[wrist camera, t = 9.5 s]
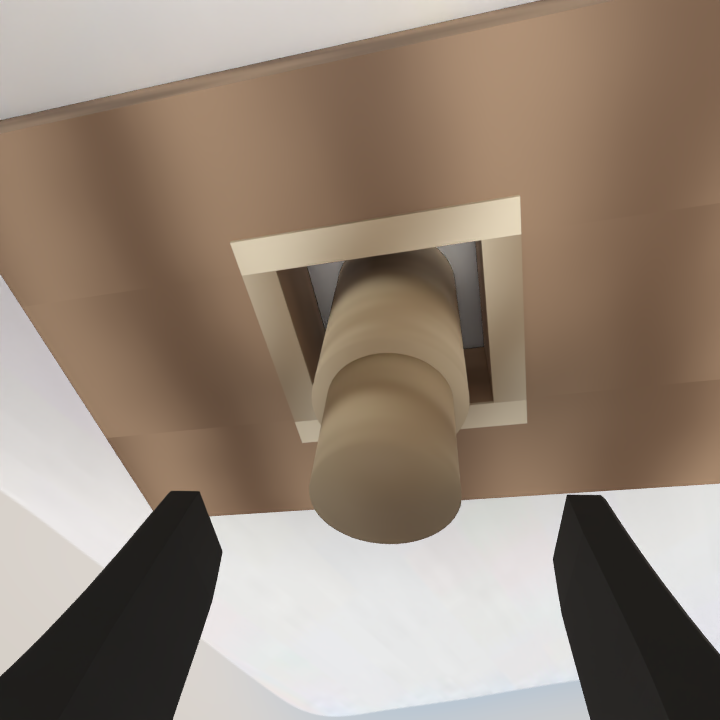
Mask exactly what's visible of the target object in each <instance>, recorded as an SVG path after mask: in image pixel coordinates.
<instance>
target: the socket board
mask: <svg viewBox="0 0 720 720" xmlns="http://www.w3.org/2000/svg"><path fill="white" fill-rule="evenodd" d="M473 241H475V244H476V256H477V268H478V280H479V292H480V304H481V316H482V328H483V340H484V347H478V348H469V349H463V350H464V358H465V366H466V374H467V382H468V390H469V403H470V404H469V411H468V414H467V417H466V420H465V422H464V424H463V426H462V427H461V429H460V430H459V431H458V433H457V434H456V438H457V449H458V460H459V472H460V483H461V496H462V499H461V500H470V499H486V498H501V497H517V496H532V495H548V494H563V493H579V492H595V491H610V490H626V489H641V488H657V487H672V486H688V485H704V484H719V483H720V0H540V1H536V2H531V3H527V4H522V5H518V6H513V7H509V8H504V9H500V10H495V11H491V12H486V13H482V14H477V15H473V16H468V17H464V18H459V19H455V20H450V21H446V22H441V23H437V24H432V25H428V26H423V27H419V28H414V29H410V30H405V31H401V32H396V33H392V34H387V35H383V36H378V37H374V38H369V39H365V40H360V41H356V42H351V43H347V44H342V45H338V46H333V47H329V48H324V49H320V50H315V51H311V52H306V53H302V54H297V55H293V56H288V57H284V58H279V59H275V60H270V61H266V62H261V63H257V64H252V65H248V66H243V67H239V68H234V69H230V70H225V71H221V72H216V73H212V74H207V75H203V76H198V77H194V78H189V79H185V80H180V81H176V82H171V83H167V84H162V85H158V86H153V87H149V88H144V89H140V90H135V91H131V92H126V93H122V94H117V95H113V96H108V97H104V98H99V99H95V100H90V101H86V102H81V103H77V104H72V105H68V106H63V107H59V108H54V109H50V110H45V111H41V112H36V113H32V114H27V115H23V116H18V117H14V118H9V119H5V120H0V274H1V276H2V277H3V279H4V280H5V282H6V284H7V285H8V287H9V288H10V290H11V291H12V293H13V294H14V296H15V297H16V299H17V301H18V302H19V304H20V305H21V307H22V308H23V310H24V311H25V313H26V315H27V316H28V318H29V319H30V321H31V322H32V324H33V325H34V327H35V328H36V330H37V332H38V333H39V335H40V336H41V338H42V339H43V341H44V342H45V344H46V346H47V347H48V349H49V350H50V352H51V353H52V355H53V356H54V358H55V359H56V361H57V363H58V364H59V366H60V367H61V369H62V370H63V372H64V373H65V375H66V377H67V378H68V380H69V381H70V383H71V384H72V386H73V387H74V389H75V390H76V392H77V394H78V395H79V397H80V398H81V400H82V401H83V403H84V404H85V406H86V408H87V409H88V411H89V412H90V414H91V415H92V417H93V418H94V420H95V421H96V423H97V425H98V426H99V428H100V429H101V431H102V432H103V434H104V435H105V437H106V438H107V440H108V442H109V443H110V445H111V446H112V448H113V449H114V451H115V452H116V454H117V456H118V457H119V459H120V460H121V462H122V463H123V465H124V466H125V468H126V469H127V471H128V473H129V474H130V476H131V477H132V479H133V480H134V482H135V483H136V485H137V487H138V488H139V490H140V491H141V493H142V494H143V496H144V497H145V499H146V500H147V502H148V504H149V505H150V507H151V508H152V510H153V511H154V510H155V508H156V507H157V506H158V505H159V504H160V502H161V501H162V500H163V499H164V498H165V497H166V495H167V494H168V493H169V492H170V491H200V494H201V496H202V499H203V502H204V504H205V507H206V509H207V512H208V515H209V516H221V515H236V514H252V513H268V512H283V511H299V510H314V507H313V505H312V503H311V500H310V496H309V484H310V479H311V474H312V469H313V464H314V459H315V454H316V449H317V444H318V439H319V434H320V428H321V425H320V423H319V422H318V420H317V418H316V415H315V413H314V410H313V406H312V388H313V383H314V379H315V375H316V371H317V366H318V362H319V358H320V354H321V349H322V345H323V341H324V337H325V329H324V326H323V322H322V319H321V315H320V312H319V308H318V305H317V301H316V297H315V294H314V290H313V287H312V283H311V280H310V276H309V273H308V269H307V266H311V265H318V264H324V263H331V262H338V261H345V260H351V259H358V258H365V257H371V256H378V255H385V254H392V253H398V252H405V251H412V250H419V249H425V248H432V247H439V246H446V245H452V244H459V243H466V242H473Z"/></svg>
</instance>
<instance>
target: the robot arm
mask: <svg viewBox="0 0 720 720" xmlns="http://www.w3.org/2000/svg"><path fill="white" fill-rule="evenodd" d="M221 557H222V549H221V546H220V544H219V541H218V538H217V536H216V533H215V531H214V528H213V525H212V523H211V520H210V517H209V515H208V512H207V509H206V507H205V504H204V502H203V499H202V496H201V494H200V491H170V492H169V493H168V494H167V495H166V497H165V498H164V499H163V500H162V501H161V502H160V504H159V505H158V506H157V507H156V508H155V510H154V511H153V512H152V513H151V514H150V516H149V517H148V518H147V519H146V520H145V522H144V523H143V524H142V525H141V526H140V528H139V529H138V530H137V531H136V532H135V533H134V535H133V536H132V537H131V538H130V539H129V541H128V542H127V543H126V544H125V545H124V546H123V548H122V549H121V550H120V551H119V552H118V554H117V555H116V556H115V557H114V558H113V559H112V560H111V562H110V563H109V564H108V565H107V566H106V567H105V568H104V569H103V571H102V572H101V573H100V574H99V575H98V576H97V577H96V579H95V580H94V581H93V582H92V583H91V584H90V586H89V587H88V588H87V589H86V590H85V591H84V592H83V593H82V594H81V595H80V597H79V598H78V599H77V600H76V601H75V602H74V603H73V604H72V605H71V606H70V607H69V608H68V609H67V610H66V612H64V613H63V615H61V617H60V618H59V619H58V620H57V621H56V622H55V623H54V624H53V625H52V626H51V627H50V628H49V629H48V630H47V631H46V632H45V633H44V634H43V635H42V636H41V638H40V639H38V641H36V643H34V644H33V645H32V646H31V647H30V648H29V649H28V650H27V651H26V652H25V653H24V654H23V655H22V656H21V657H20V658H19V659H18V660H17V661H16V662H15V663H14V664H13V665H12V666H11V667H10V668H9V669H8V670H7V671H6V672H4V673H3V674H2V675H1V676H0V720H173V717H174V714H175V711H176V708H177V705H178V702H179V699H180V696H181V693H182V690H183V687H184V684H185V681H186V678H187V675H188V672H189V669H190V666H191V663H192V661H193V658H194V655H195V652H196V649H197V645H198V643H199V640H200V637H201V634H202V631H203V628H204V625H205V622H206V619H207V616H208V613H209V610H210V606H211V603H212V599H213V595H214V591H215V586H216V582H217V577H218V572H219V567H220V562H221ZM553 563H554V570H555V576H556V583H557V589H558V595H559V601H560V607H561V613H562V617H563V621H564V624H565V628H566V632H567V636H568V639H569V643H570V647H571V650H572V654H573V658H574V661H575V665H576V669H577V672H578V676H579V680H580V683H581V687H582V691H583V694H584V698H585V701H586V705H587V709H588V712H589V716H590V720H720V654H719V653H718V651H717V650H716V649H715V648H714V647H713V645H712V644H711V643H710V642H709V641H708V639H707V638H706V637H705V636H704V635H703V633H702V632H701V631H700V630H699V628H698V627H697V626H696V625H695V623H694V622H693V621H692V620H691V618H690V617H689V616H688V615H687V613H686V612H685V611H684V609H683V608H682V607H681V605H680V604H679V603H678V601H677V600H676V599H675V598H674V596H673V595H672V594H671V592H670V591H669V590H668V588H667V587H666V586H665V585H664V583H663V582H662V581H661V579H660V578H659V576H658V575H657V574H656V572H655V571H654V570H653V568H652V567H651V566H650V564H649V563H648V561H647V560H646V559H645V557H644V556H643V554H642V553H641V551H640V550H639V549H638V547H637V546H636V544H635V543H634V541H633V540H632V539H631V537H630V536H629V534H628V533H627V531H626V530H625V528H624V527H623V525H622V524H621V522H620V521H619V519H618V518H617V516H616V515H615V513H614V512H613V510H612V509H611V507H610V506H609V504H608V502H607V501H606V499H604V498H603V497H602V496H601V495H567V497H566V502H565V506H564V511H563V515H562V520H561V524H560V529H559V534H558V538H557V543H556V547H555V552H554V556H553Z"/></svg>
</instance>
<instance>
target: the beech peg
mask: <svg viewBox="0 0 720 720" xmlns="http://www.w3.org/2000/svg"><path fill="white" fill-rule="evenodd" d="M469 404H470V403H469V390H468V382H467V374H466V366H465V358H464V350H463V342H462V334H461V326H460V318H459V310H458V302H457V294H456V286H455V279H454V274H453V271H452V268H451V266H450V264H449V262H448V260H447V259H446V258H445V256H444V255H443V254H442V253H441V252H440V251H439V250H438V249H437V248H436V247H432V248H425V249H419V250H412V251H405V252H398V253H392V254H385V255H378V256H371V257H365V258H358V259H351V260H345V262H344V263H343V265H342V268H341V270H340V274H339V277H338V282H337V286H336V290H335V294H334V299H333V303H332V307H331V311H330V316H329V320H328V324H327V328H326V332H325V337H324V341H323V345H322V349H321V354H320V358H319V362H318V366H317V371H316V375H315V379H314V383H313V388H312V406H313V410H314V413H315V415H316V418H317V420H318V422H319V423H320V425H321V428H320V434H319V439H318V444H317V449H316V454H315V459H314V464H313V469H312V474H311V479H310V484H309V496H310V500H311V503H312V505H313V507H314V509H315V511H316V512H317V513H318V515H319V516H320V517H321V518H322V519H323V520H324V521H325V522H326V523H327V524H328V525H330V526H331V527H333V528H334V529H336V530H337V531H339V532H341V533H343V534H345V535H348V536H350V537H352V538H356V539H359V540H363V541H367V542H372V543H380V544H400V543H408V542H414V541H418V540H421V539H424V538H427V537H429V536H432V535H434V534H436V533H438V532H439V531H441V530H442V529H444V528H445V527H446V526H447V525H448V524H450V523H451V521H452V520H453V519H454V518H455V516H456V515H457V513H458V511H459V508H460V505H461V499H462V496H461V483H460V472H459V460H458V449H457V438H456V434H457V433H458V431H459V430H460V429H461V427H462V426H463V424H464V422H465V420H466V417H467V414H468V411H469Z"/></svg>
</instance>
